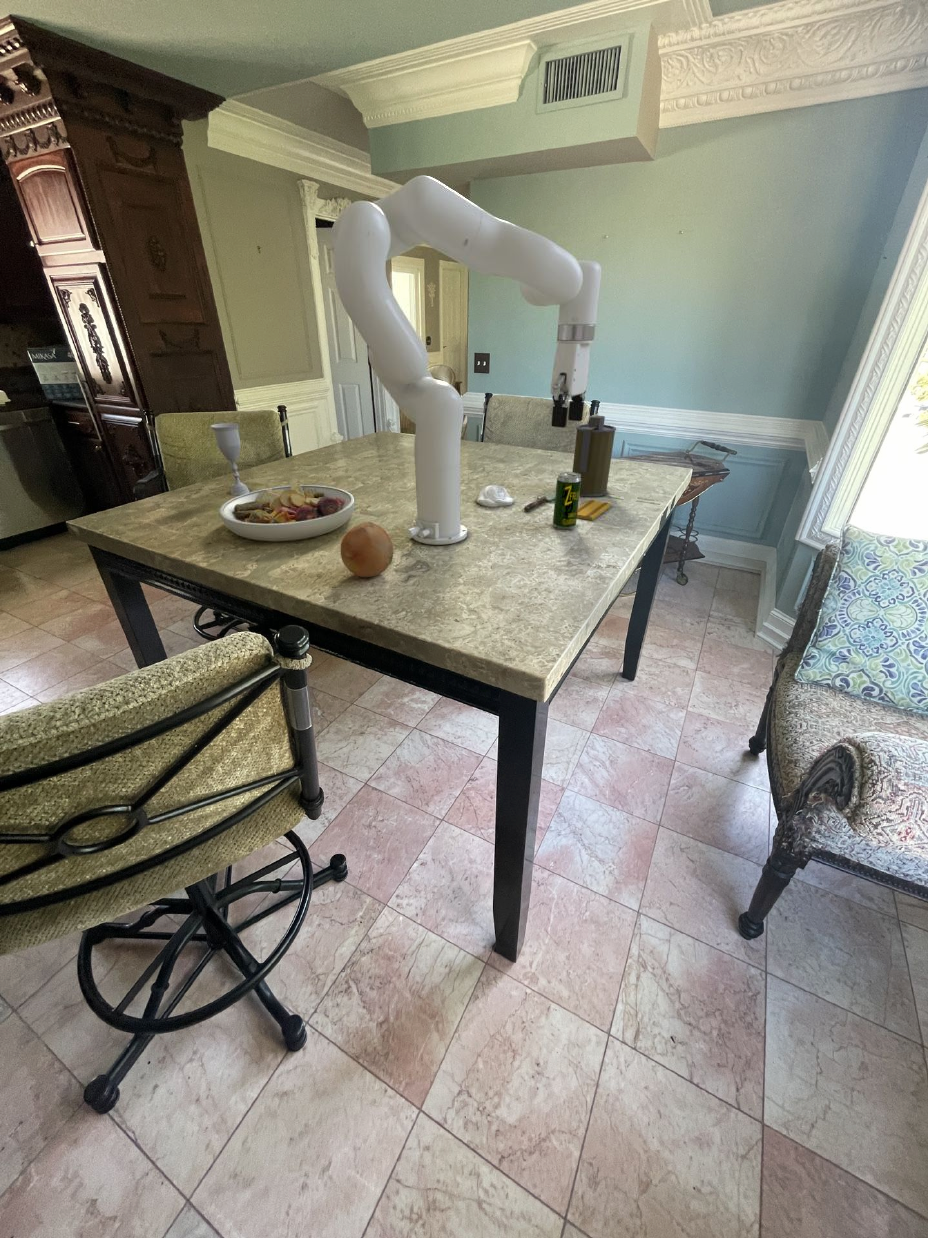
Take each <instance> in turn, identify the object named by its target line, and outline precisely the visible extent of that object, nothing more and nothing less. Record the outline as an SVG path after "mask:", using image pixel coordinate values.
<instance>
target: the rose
mask: <svg viewBox="0 0 928 1238" xmlns="http://www.w3.org/2000/svg"><path fill="white" fill-rule="evenodd" d="M513 502H514V498H513V497H510V494H509V492H508V491H507V490H506V488H504V487H503V486H500V485H495V484H494V485H488V486H486V487H485V488H483V489H482V490H481V491H480V492H478V496H477V499H476V503H477V504H479V505H481V506H484V507H489V508H497V507H507V506H510V505H511V506H512V504H513Z"/></svg>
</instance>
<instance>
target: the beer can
mask: <svg viewBox="0 0 928 1238" xmlns="http://www.w3.org/2000/svg"><path fill="white" fill-rule="evenodd" d="M580 477H581V475H580V474H578V473H574V472H572V471H563V472H559V473H558V474H557V478H556V484H555V493H554V494H555V500H554V505H553V506H554V507H553V515H552V525H553V527H554V528H556V529H558V530H564V531H567V530H574V528H575V527H576V525H577V520H578V518H577V512H578V507H579V503H580V496H579V495H580V486H581V478H580Z"/></svg>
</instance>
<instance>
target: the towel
mask: <svg viewBox="0 0 928 1238" xmlns="http://www.w3.org/2000/svg"><path fill="white" fill-rule="evenodd" d="M611 506H612V503H610V502H606V501H604V502H603V501H597V500H595V499H588V500H587V501H585V502H584V503H582V504H580V505H578V512H577V519H582V520H587V521H593V520H595V519H596V518H598V517H599V516H600V515H601V514H603V513H604V512H606V511H607V510H609V508H611Z"/></svg>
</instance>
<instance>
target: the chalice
mask: <svg viewBox="0 0 928 1238" xmlns="http://www.w3.org/2000/svg"><path fill="white" fill-rule="evenodd" d="M210 427H211V429H212V430H213V433H214V437H215V440H216V445H217V447H218V449H219V451H220V452H221V453H222V455H223V456H224V458H225V459H226V460H227V461H228V462H230V463H231V469H232V471H233V474H232V476H233V477H234V480H235V482H234V483H233V484H232V486H231V488H230V489H231V490H230V494H231V495H233V496H240V495H243V494H246V493H250V492H251V491H250V490H249V489H248V486H247V485H246V484H245V483H243V482H242V481H240V474H239V472H238V469H239V467H238V466H237V464H236V461H238V460H239V457H240V452H241V445H242V442H241V437H240V434H239V423H237V422H224V423H223V422H222V423H215V424H211V425H210Z"/></svg>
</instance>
